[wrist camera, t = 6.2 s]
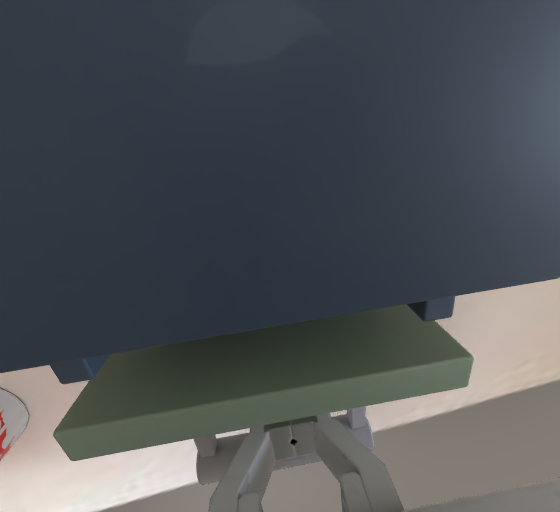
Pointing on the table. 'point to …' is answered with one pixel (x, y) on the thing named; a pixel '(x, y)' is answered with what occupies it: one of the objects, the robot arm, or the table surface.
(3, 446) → the beverage cup
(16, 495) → the table surface
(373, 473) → the robot arm
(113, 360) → the drawer
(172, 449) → the table surface
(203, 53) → the cabinet
